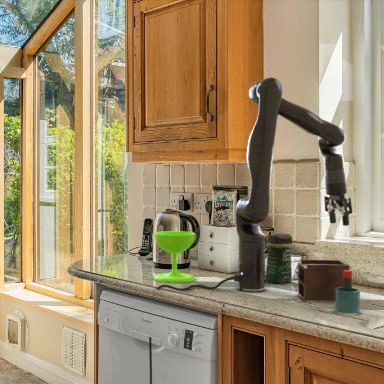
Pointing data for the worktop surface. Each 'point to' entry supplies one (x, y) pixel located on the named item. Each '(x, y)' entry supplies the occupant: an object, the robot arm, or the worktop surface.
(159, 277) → the wineglass
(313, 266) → the dark wooden crate
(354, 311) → the pen cup
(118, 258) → the worktop surface
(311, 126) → the robot arm
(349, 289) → the marker
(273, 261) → the coffee jar
